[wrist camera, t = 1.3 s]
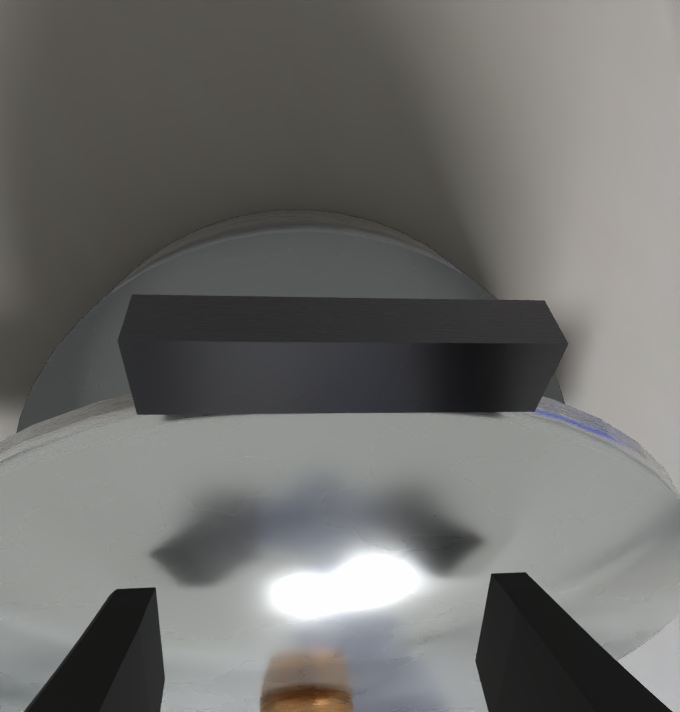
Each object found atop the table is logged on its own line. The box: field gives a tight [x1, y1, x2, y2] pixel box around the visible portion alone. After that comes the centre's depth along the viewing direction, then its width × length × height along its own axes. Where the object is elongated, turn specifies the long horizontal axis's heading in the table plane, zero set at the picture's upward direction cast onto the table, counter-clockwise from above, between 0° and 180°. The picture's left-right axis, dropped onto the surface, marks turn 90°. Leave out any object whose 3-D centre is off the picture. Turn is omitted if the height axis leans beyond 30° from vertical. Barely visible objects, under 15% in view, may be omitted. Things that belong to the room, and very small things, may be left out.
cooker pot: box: [17, 210, 565, 433], centre depth 18 cm, size 18×20×4 cm
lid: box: [0, 294, 680, 712], centre depth 12 cm, size 18×17×2 cm
